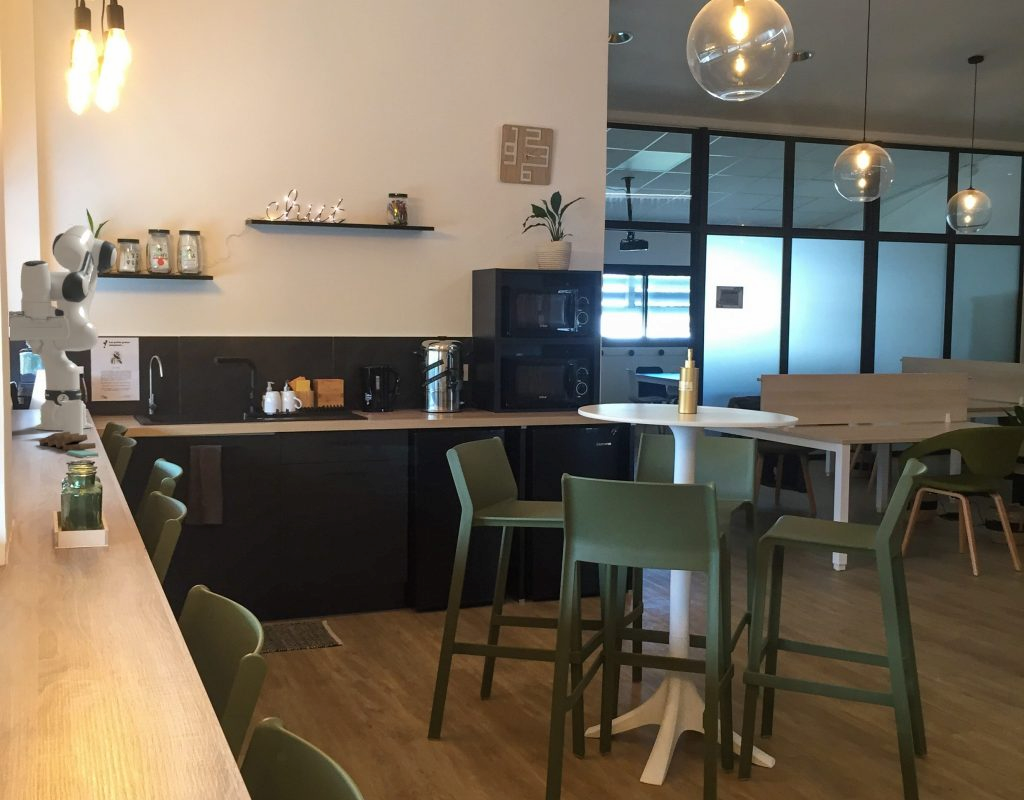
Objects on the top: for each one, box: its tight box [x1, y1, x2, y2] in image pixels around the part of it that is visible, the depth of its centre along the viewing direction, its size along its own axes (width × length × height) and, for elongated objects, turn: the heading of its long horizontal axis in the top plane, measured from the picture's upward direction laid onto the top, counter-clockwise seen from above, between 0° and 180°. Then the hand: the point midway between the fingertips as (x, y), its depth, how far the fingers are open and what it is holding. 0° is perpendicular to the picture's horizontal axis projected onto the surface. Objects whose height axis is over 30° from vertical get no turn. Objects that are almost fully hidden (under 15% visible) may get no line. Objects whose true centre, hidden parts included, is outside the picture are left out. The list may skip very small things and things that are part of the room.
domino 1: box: [38, 431, 70, 446], centre depth 326 cm, size 2×5×10 cm
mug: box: [51, 400, 84, 435], centre depth 347 cm, size 10×7×12 cm, turn 112°
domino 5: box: [66, 449, 99, 458], centre depth 309 cm, size 2×5×10 cm
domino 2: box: [47, 433, 79, 448], centre depth 323 cm, size 2×5×10 cm
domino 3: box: [55, 434, 88, 449], centre depth 319 cm, size 2×5×10 cm
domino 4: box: [62, 442, 97, 451], centre depth 317 cm, size 2×5×10 cm
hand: (37, 354), depth 329 cm, fingers closed
